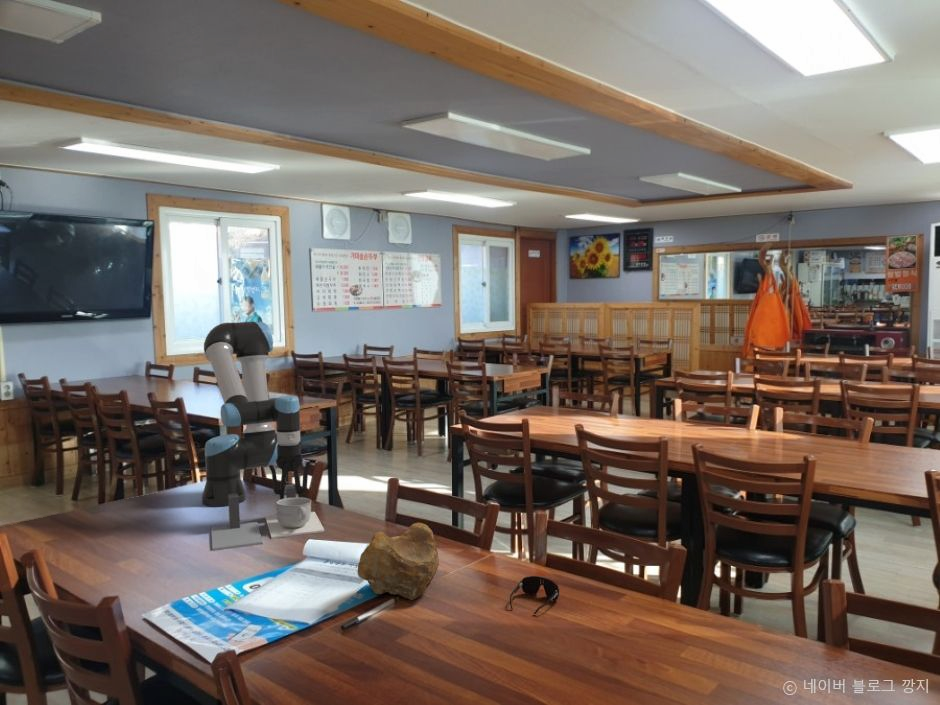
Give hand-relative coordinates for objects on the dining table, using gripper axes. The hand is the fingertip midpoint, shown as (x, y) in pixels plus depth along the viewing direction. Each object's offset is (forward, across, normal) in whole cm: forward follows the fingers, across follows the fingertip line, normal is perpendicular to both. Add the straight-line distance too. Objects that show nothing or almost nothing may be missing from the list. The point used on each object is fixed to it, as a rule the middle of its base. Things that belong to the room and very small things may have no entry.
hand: (291, 512), depth 233 cm
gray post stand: (+2, -18, -11) cm, 21 cm away
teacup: (+2, 0, -10) cm, 11 cm away
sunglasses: (+3, +46, -88) cm, 99 cm away
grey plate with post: (+2, 0, -7) cm, 7 cm away
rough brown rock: (+2, +20, -69) cm, 72 cm away
